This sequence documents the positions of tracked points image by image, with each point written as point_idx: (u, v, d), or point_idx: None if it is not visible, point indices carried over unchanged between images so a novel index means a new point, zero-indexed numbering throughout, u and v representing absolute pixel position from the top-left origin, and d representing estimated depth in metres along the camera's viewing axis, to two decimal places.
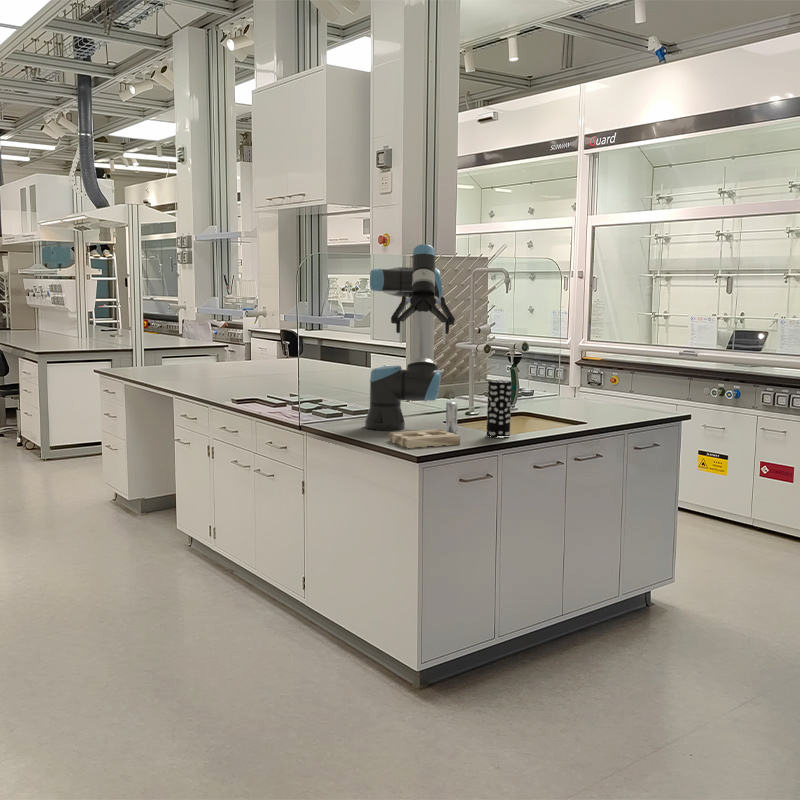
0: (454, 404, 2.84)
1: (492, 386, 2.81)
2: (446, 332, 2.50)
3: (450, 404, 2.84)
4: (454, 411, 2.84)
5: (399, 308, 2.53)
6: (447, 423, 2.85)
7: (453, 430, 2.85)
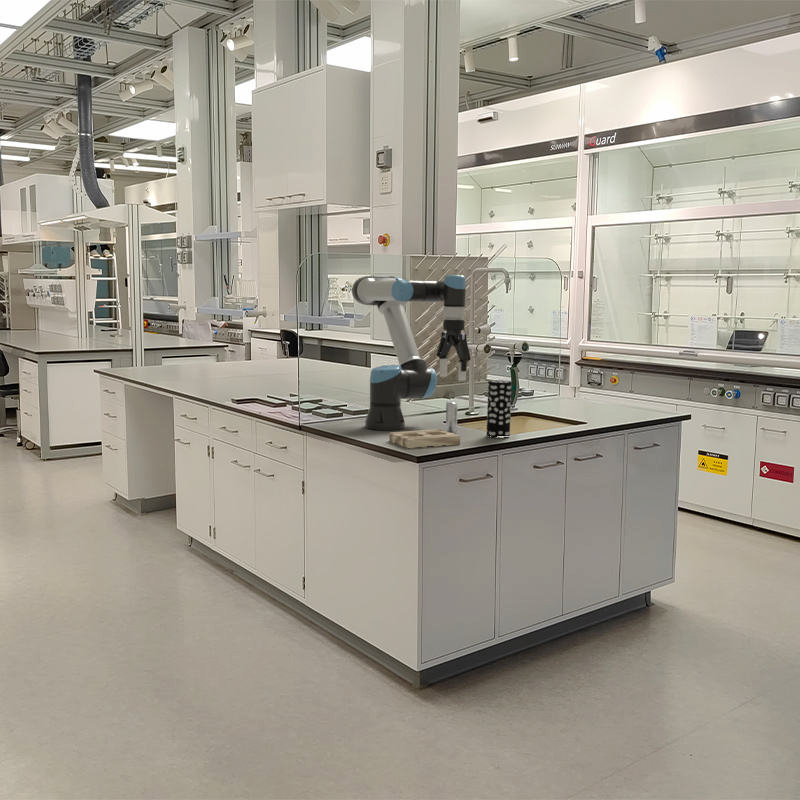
0: (454, 404, 2.84)
1: (492, 386, 2.81)
2: None
3: (450, 404, 2.84)
4: (454, 411, 2.84)
5: None
6: (447, 423, 2.85)
7: (453, 430, 2.85)
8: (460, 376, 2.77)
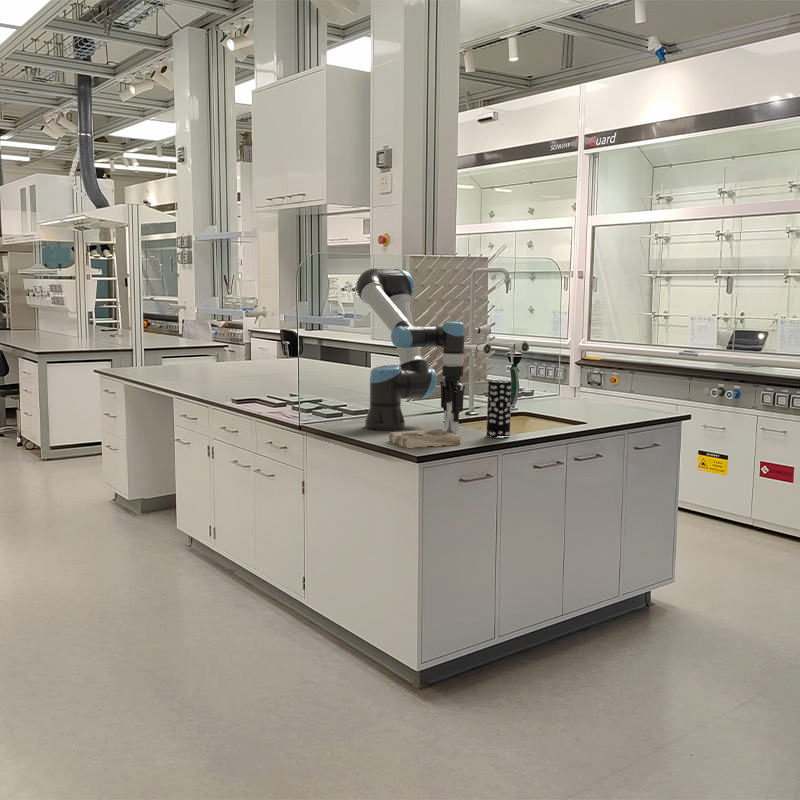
0: None
1: (492, 386, 2.81)
2: None
3: (450, 404, 2.84)
4: None
5: None
6: (447, 423, 2.85)
7: None
8: (452, 426, 2.84)
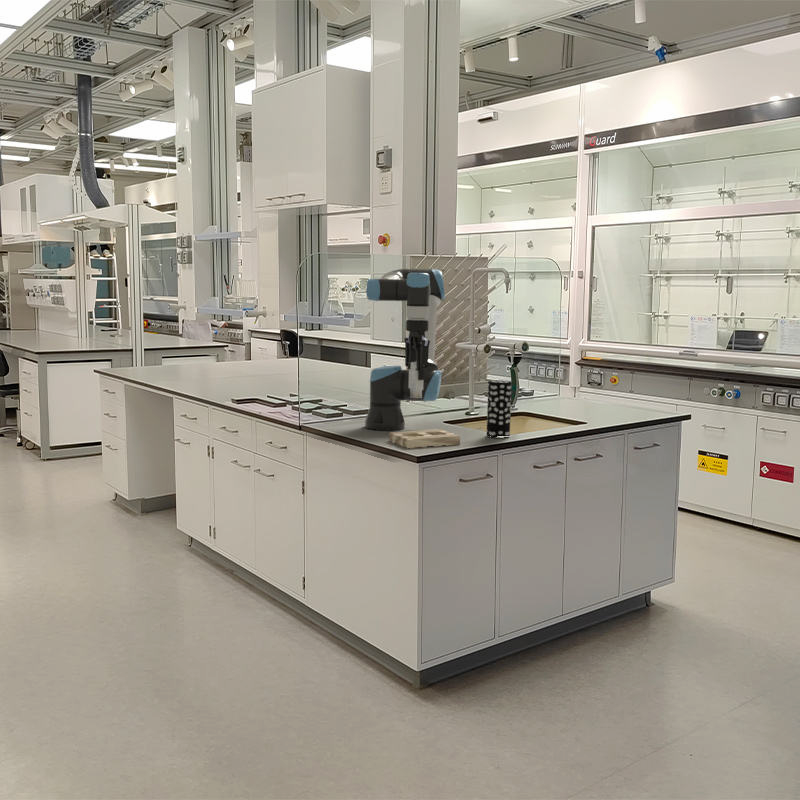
0: None
1: (492, 386, 2.81)
2: None
3: (414, 363, 2.65)
4: None
5: None
6: (411, 384, 2.66)
7: (418, 392, 2.66)
8: (417, 385, 2.65)
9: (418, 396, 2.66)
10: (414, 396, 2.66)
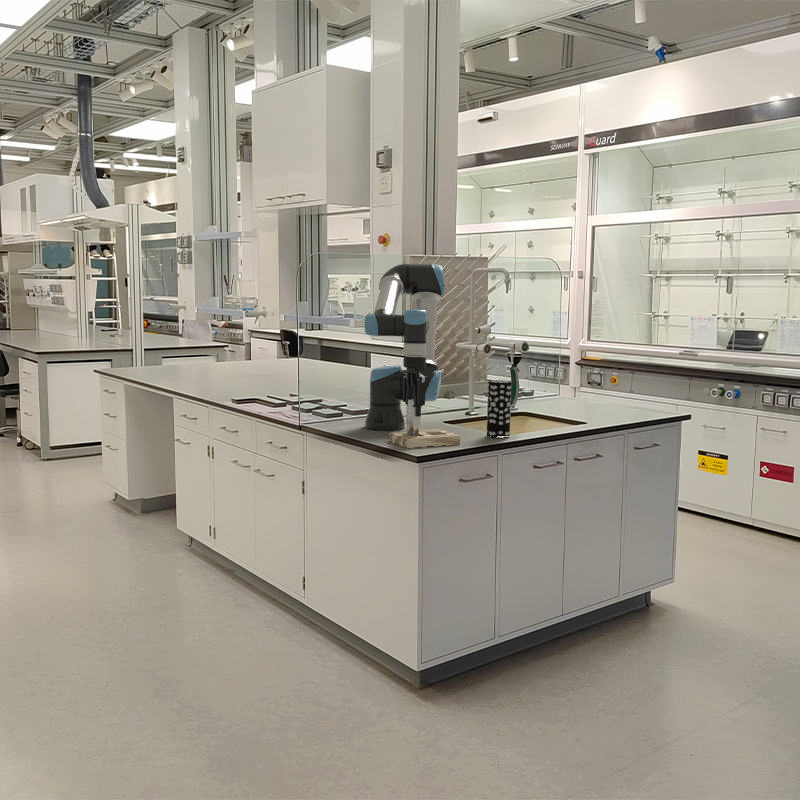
0: None
1: (492, 386, 2.81)
2: None
3: (411, 401, 2.66)
4: None
5: None
6: (408, 421, 2.67)
7: (415, 429, 2.67)
8: (414, 421, 2.66)
9: (415, 434, 2.67)
10: (411, 434, 2.67)
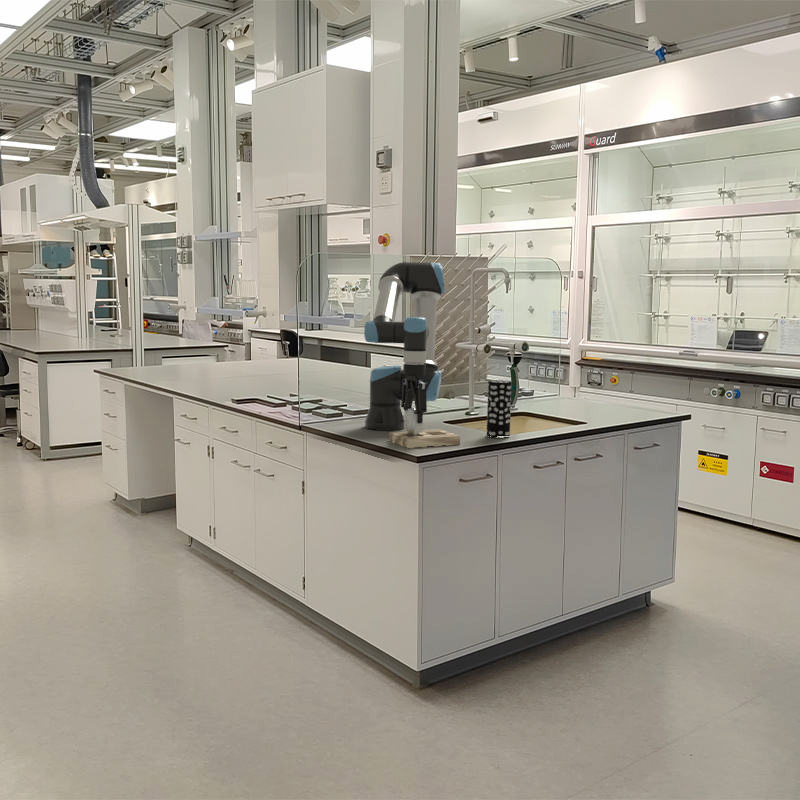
0: None
1: (492, 386, 2.81)
2: None
3: (411, 410, 2.66)
4: None
5: None
6: (408, 431, 2.68)
7: None
8: (416, 428, 2.65)
9: None
10: None
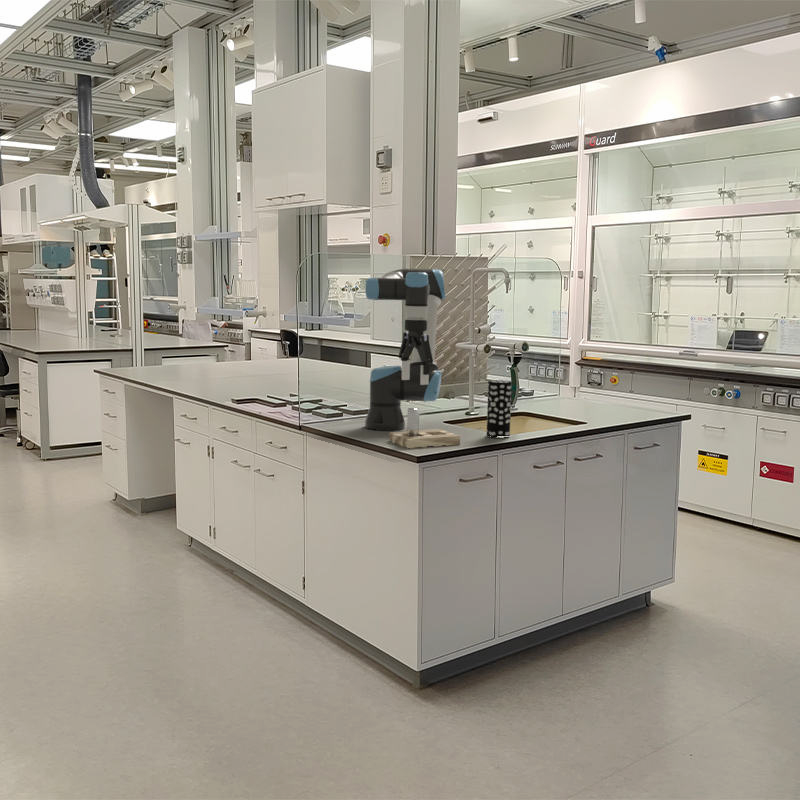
0: (416, 410, 2.66)
1: (492, 386, 2.81)
2: None
3: (411, 410, 2.66)
4: (416, 418, 2.67)
5: None
6: (408, 431, 2.68)
7: None
8: (422, 380, 2.61)
9: None
10: None
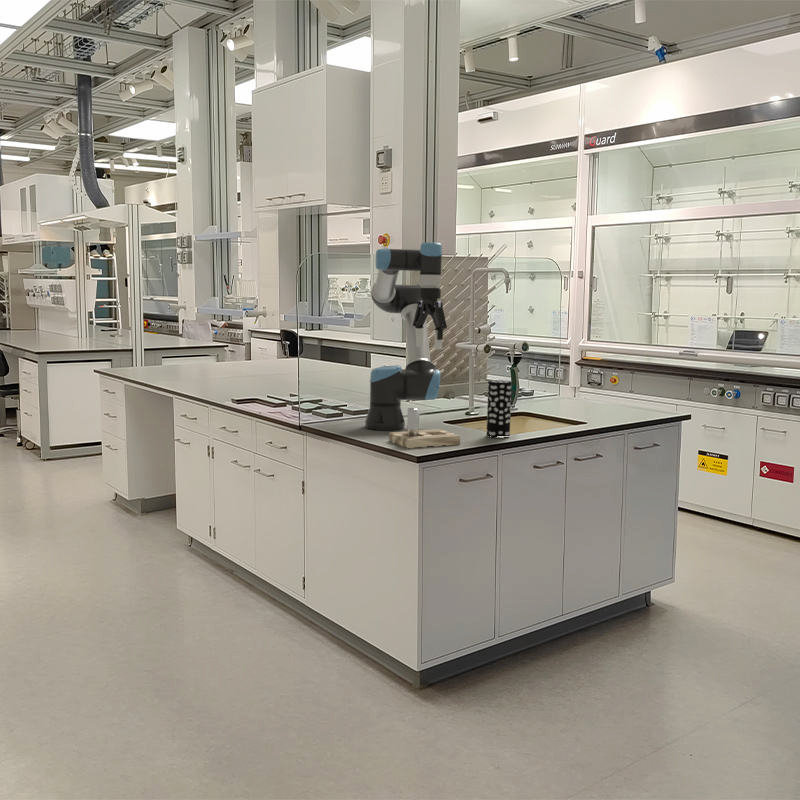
0: (416, 410, 2.66)
1: (492, 386, 2.81)
2: None
3: (411, 410, 2.66)
4: (416, 418, 2.67)
5: None
6: (408, 431, 2.68)
7: None
8: (436, 345, 2.73)
9: None
10: None
